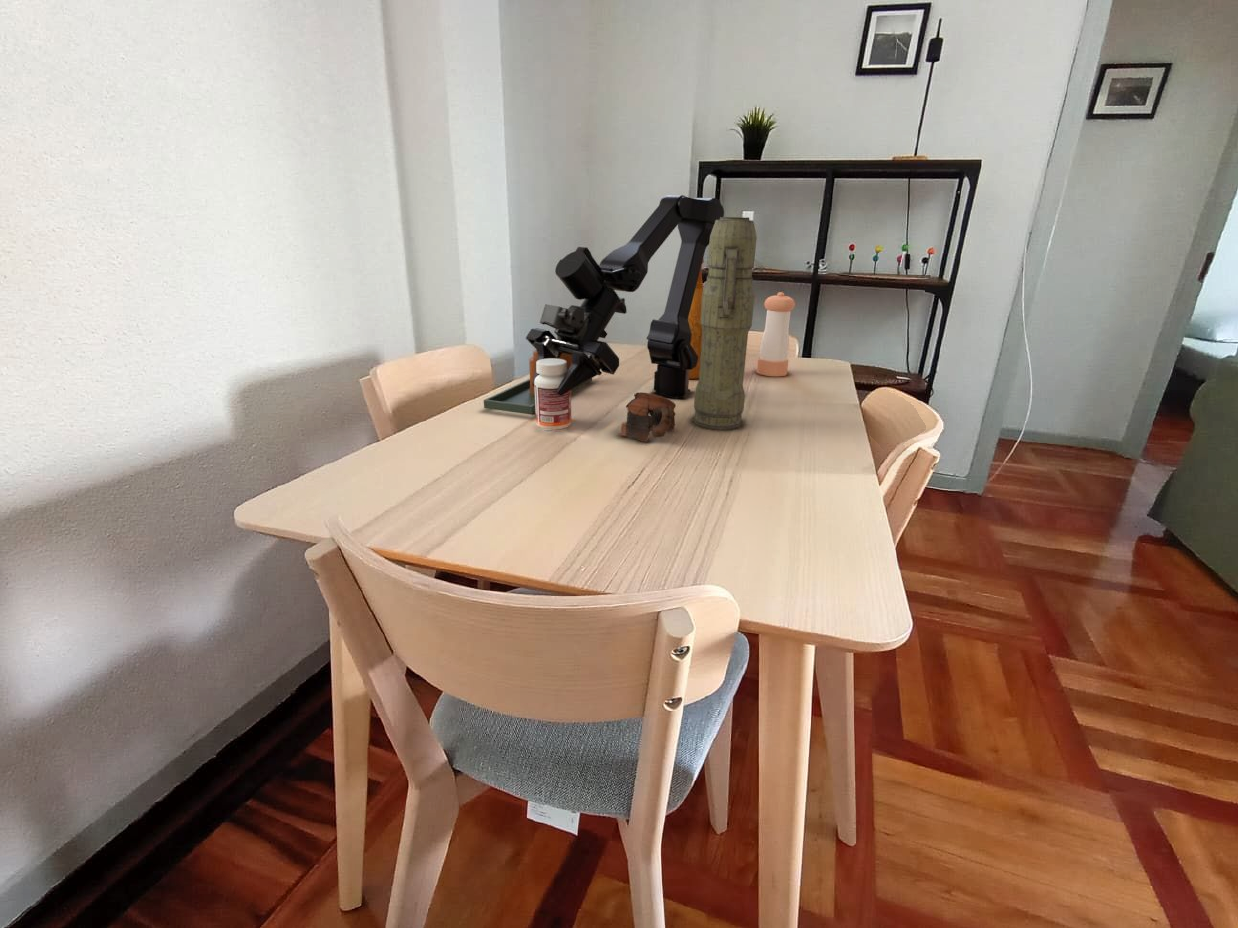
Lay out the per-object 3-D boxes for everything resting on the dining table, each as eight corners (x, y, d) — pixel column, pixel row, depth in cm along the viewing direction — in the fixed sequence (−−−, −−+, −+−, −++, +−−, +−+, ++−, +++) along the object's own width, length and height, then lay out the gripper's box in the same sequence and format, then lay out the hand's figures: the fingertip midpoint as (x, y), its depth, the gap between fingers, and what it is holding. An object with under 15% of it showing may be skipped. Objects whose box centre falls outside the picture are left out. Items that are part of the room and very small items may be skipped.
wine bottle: (712, 380, 141) (723, 243, 129) (669, 379, 141) (676, 242, 130) (706, 370, 150) (716, 241, 139) (667, 369, 150) (673, 240, 139)
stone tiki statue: (737, 413, 117) (756, 217, 104) (746, 433, 107) (768, 218, 93) (691, 411, 118) (704, 216, 105) (695, 431, 107) (710, 216, 94)
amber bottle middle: (558, 391, 127) (558, 338, 123) (547, 397, 122) (546, 342, 118) (537, 388, 128) (535, 336, 124) (526, 394, 124) (523, 340, 120)
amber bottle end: (577, 380, 135) (577, 330, 131) (568, 386, 131) (567, 334, 127) (557, 378, 137) (556, 329, 133) (547, 383, 132) (545, 332, 128)
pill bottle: (577, 427, 106) (576, 363, 102) (546, 433, 103) (543, 367, 99) (560, 417, 111) (559, 356, 107) (530, 423, 108) (527, 360, 103)
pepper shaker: (750, 372, 149) (758, 291, 142) (767, 368, 154) (776, 290, 147) (775, 378, 144) (785, 295, 137) (792, 373, 149) (803, 293, 142)
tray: (592, 383, 136) (592, 373, 136) (532, 418, 112) (531, 406, 111) (551, 378, 140) (551, 368, 139) (484, 411, 115) (483, 400, 114)
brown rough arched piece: (607, 434, 106) (620, 389, 107) (649, 450, 111) (663, 407, 112) (644, 437, 96) (659, 387, 96) (689, 455, 101) (703, 407, 101)
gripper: (532, 281, 107) (483, 353, 103) (607, 291, 95) (555, 373, 92) (566, 321, 115) (522, 389, 112) (640, 335, 103) (593, 411, 100)
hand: (546, 390), depth 104 cm, fingers closed on pill bottle, 6 cm apart
